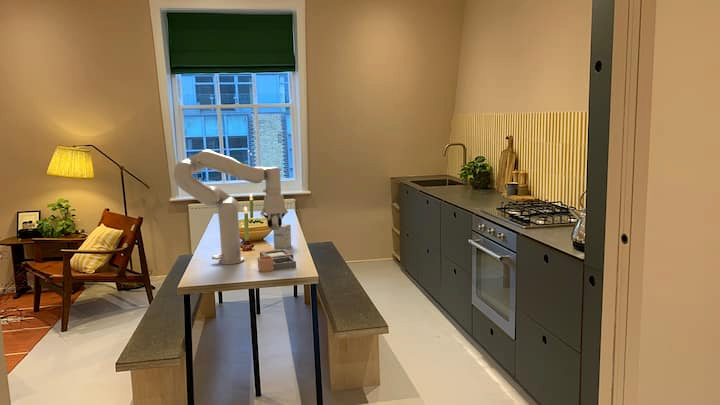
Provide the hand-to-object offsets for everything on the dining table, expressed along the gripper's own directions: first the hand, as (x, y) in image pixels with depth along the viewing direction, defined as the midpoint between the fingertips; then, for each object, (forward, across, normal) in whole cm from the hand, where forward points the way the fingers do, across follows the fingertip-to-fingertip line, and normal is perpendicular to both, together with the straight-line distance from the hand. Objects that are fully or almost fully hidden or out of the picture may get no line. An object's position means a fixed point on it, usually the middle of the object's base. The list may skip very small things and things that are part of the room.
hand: (274, 226), depth 276 cm
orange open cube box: (+17, -10, -18) cm, 27 cm away
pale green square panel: (+16, 0, 0) cm, 16 cm away
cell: (+1, 0, 0) cm, 1 cm away
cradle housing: (+17, 0, 0) cm, 17 cm away
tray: (+17, -1, -15) cm, 23 cm away
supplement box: (+17, +10, +24) cm, 31 cm away
